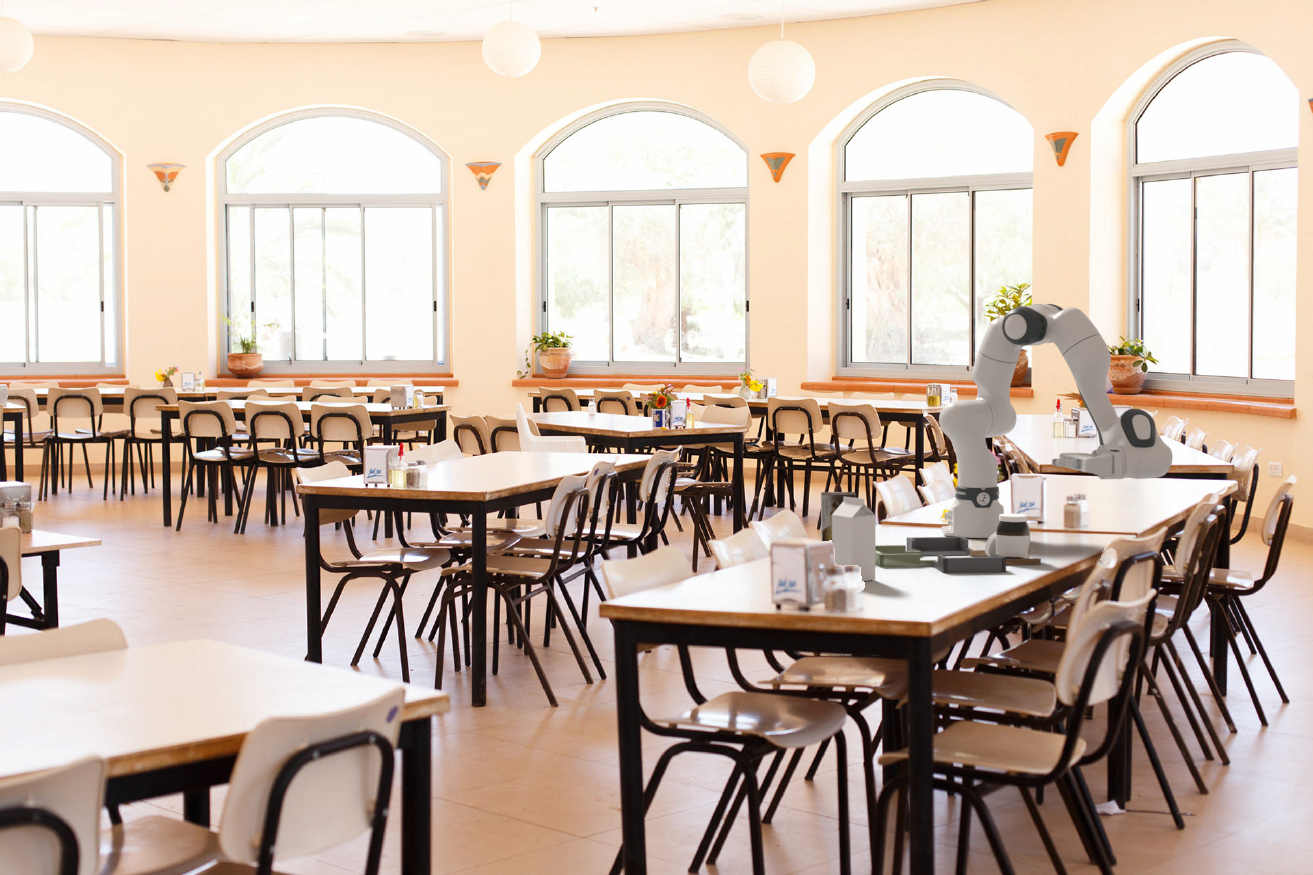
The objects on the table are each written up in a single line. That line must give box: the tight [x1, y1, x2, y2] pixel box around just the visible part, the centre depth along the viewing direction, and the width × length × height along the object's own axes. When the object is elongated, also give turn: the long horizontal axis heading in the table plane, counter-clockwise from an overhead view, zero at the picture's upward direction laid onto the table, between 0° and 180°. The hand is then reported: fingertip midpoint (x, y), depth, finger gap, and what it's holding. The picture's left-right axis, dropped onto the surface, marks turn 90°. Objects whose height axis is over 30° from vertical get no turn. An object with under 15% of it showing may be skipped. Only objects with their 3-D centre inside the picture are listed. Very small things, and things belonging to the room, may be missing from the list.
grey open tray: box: [906, 536, 973, 557], centre depth 344 cm, size 10×15×4 cm
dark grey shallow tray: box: [931, 554, 1007, 574], centre depth 318 cm, size 10×15×4 cm
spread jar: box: [984, 513, 1031, 559], centre depth 332 cm, size 12×11×12 cm
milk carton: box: [832, 497, 876, 582], centre depth 303 cm, size 7×7×19 cm
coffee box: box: [820, 491, 857, 541], centre depth 344 cm, size 9×6×16 cm
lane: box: [875, 544, 1042, 568], centre depth 331 cm, size 16×40×3 cm, turn 93°
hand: (1054, 462), depth 337 cm, fingers closed
